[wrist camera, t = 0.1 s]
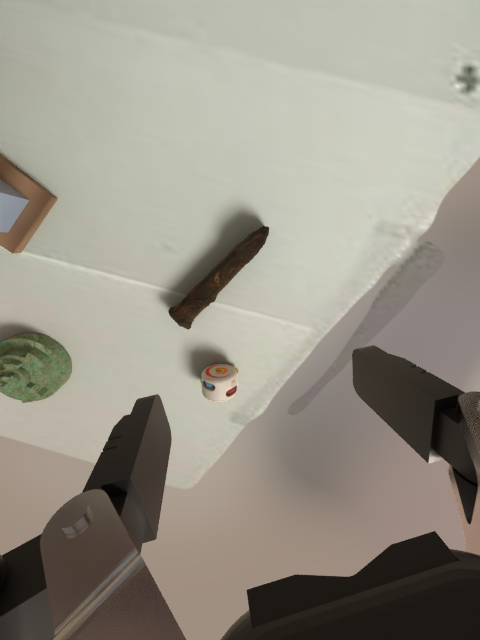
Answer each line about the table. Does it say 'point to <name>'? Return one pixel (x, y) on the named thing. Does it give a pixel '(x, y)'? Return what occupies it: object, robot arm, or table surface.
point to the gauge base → (33, 210)
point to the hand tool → (218, 279)
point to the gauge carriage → (10, 206)
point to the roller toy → (219, 382)
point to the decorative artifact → (32, 366)
